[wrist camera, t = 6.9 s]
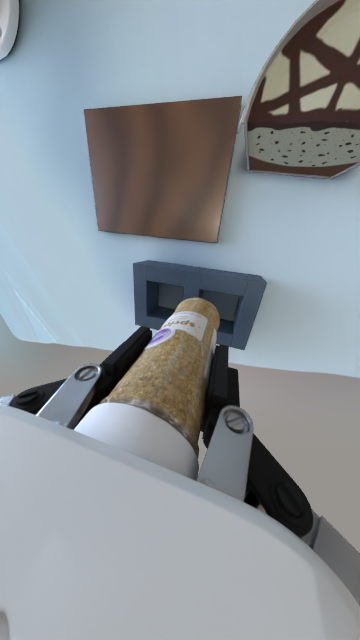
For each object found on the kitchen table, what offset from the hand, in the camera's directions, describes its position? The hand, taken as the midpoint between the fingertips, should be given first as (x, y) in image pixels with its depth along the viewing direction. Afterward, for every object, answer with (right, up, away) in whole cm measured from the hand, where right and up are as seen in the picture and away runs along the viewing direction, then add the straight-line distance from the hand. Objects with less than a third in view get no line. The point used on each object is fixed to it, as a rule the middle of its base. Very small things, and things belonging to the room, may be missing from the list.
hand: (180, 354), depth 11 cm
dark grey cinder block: (+3, +6, +18) cm, 19 cm away
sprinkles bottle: (+2, +3, +5) cm, 6 cm away
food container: (+13, +22, +7) cm, 27 cm away
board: (-3, +22, +12) cm, 26 cm away
